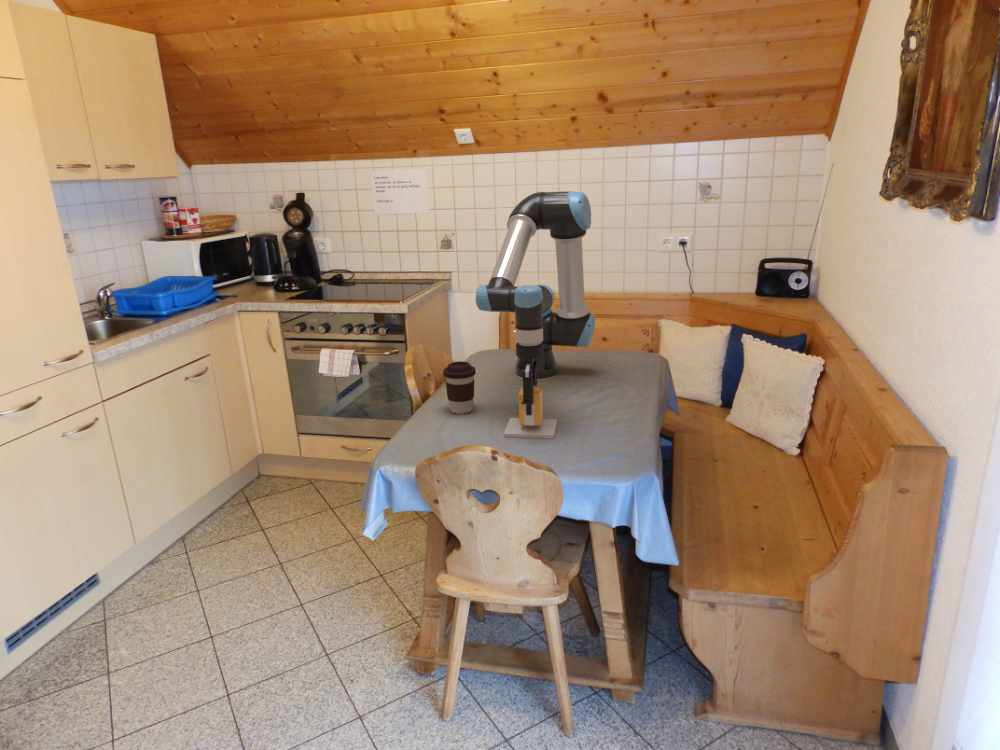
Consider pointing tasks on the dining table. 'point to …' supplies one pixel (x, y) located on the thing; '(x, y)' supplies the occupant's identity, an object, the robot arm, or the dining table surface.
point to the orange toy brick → (537, 406)
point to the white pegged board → (531, 429)
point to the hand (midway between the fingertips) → (530, 420)
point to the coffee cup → (460, 386)
